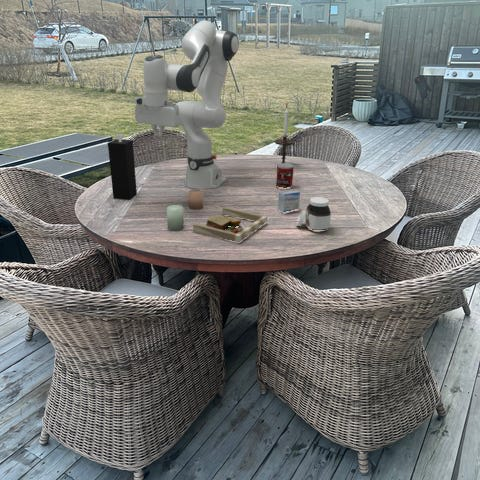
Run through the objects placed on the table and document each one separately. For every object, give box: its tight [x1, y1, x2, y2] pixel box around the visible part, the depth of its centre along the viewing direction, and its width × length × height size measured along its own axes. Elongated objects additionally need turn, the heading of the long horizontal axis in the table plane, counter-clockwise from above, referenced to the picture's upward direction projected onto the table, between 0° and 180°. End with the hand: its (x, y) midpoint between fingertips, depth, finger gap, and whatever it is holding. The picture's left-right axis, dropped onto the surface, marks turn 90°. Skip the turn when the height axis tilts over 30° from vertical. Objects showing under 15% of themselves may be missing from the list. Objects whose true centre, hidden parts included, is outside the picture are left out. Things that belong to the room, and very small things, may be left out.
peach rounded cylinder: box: [188, 189, 204, 211], centre depth 187 cm, size 6×6×7 cm
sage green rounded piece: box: [166, 204, 185, 232], centre depth 167 cm, size 6×6×8 cm
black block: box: [107, 133, 138, 201], centre depth 193 cm, size 8×8×28 cm
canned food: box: [275, 162, 294, 188], centre depth 214 cm, size 8×8×11 cm
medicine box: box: [277, 189, 301, 212], centre depth 185 cm, size 8×4×9 cm, turn 117°
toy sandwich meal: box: [205, 214, 244, 234], centre depth 166 cm, size 12×14×5 cm
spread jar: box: [296, 196, 332, 231], centre depth 168 cm, size 12×11×12 cm
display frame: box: [192, 206, 268, 242], centre depth 169 cm, size 22×20×3 cm
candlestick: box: [274, 103, 296, 163], centre depth 243 cm, size 11×11×35 cm
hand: (158, 136), depth 179 cm, fingers closed
